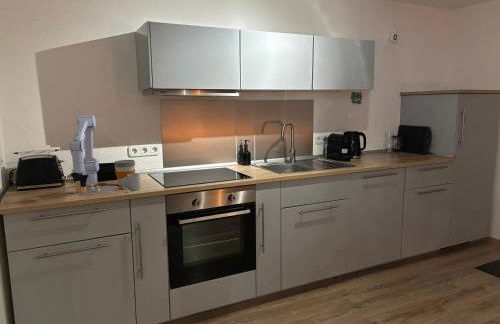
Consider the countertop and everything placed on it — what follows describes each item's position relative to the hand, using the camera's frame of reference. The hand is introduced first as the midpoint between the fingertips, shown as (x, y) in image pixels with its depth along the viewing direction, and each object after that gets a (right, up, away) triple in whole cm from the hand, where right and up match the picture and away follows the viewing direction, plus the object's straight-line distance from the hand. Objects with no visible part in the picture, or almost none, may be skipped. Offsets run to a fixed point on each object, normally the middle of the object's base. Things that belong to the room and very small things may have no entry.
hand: (80, 186), depth 209 cm
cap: (0, -3, +1) cm, 3 cm away
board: (+6, -4, +5) cm, 9 cm away
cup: (+26, -3, +11) cm, 28 cm away
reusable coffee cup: (+18, -1, +25) cm, 31 cm away
